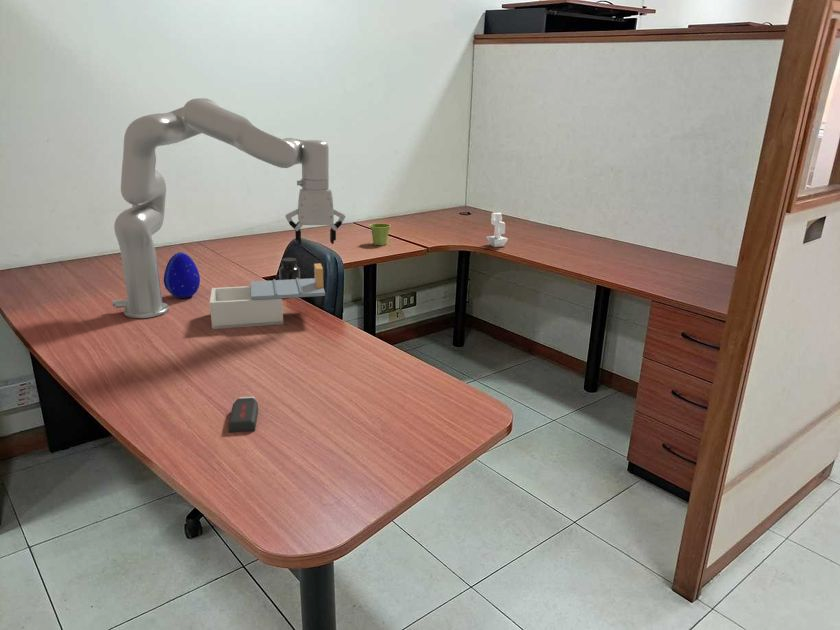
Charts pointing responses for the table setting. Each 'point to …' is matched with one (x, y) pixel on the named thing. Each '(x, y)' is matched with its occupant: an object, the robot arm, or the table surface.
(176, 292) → the ornament
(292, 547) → the table surface
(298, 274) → the supplement bottle
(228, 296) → the box
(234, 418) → the usb drive
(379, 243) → the plant pot
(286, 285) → the tub lid
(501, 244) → the figurine
